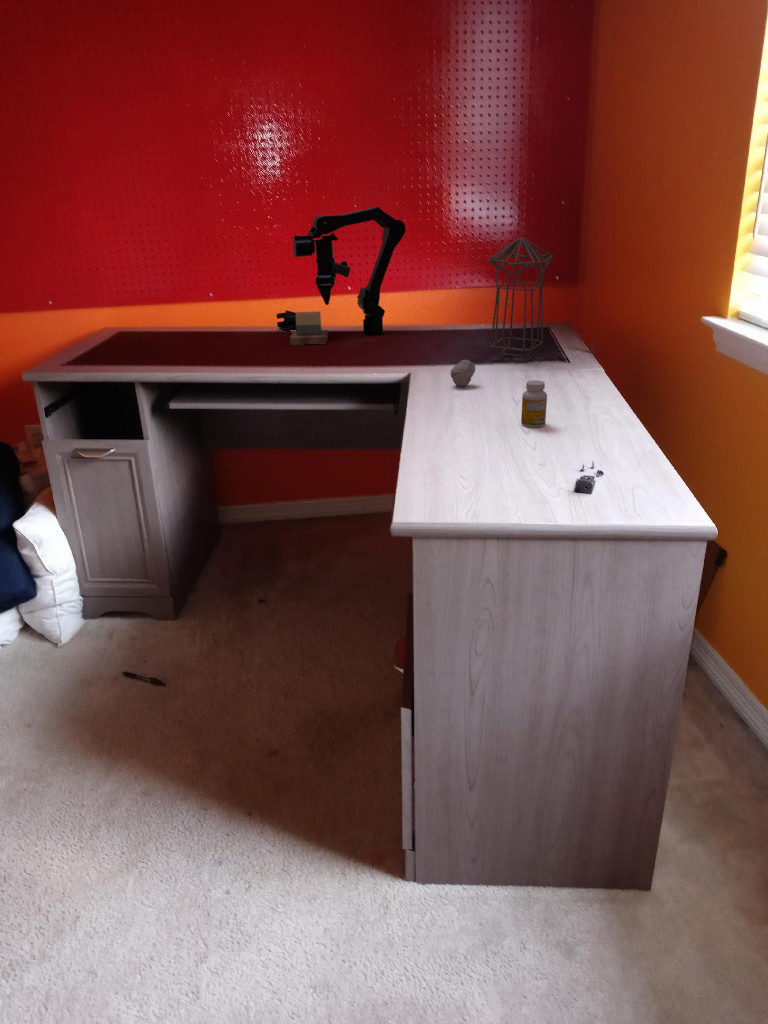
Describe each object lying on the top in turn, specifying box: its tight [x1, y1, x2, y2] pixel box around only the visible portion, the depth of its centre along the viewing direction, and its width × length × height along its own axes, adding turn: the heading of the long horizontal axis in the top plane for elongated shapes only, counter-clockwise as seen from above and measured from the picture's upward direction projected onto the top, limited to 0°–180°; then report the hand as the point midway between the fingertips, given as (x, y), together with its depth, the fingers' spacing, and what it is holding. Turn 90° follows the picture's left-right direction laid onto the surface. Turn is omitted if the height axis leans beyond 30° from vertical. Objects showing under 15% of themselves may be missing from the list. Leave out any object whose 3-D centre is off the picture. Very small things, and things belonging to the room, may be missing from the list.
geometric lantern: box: [487, 237, 554, 363], centre depth 230 cm, size 16×16×35 cm
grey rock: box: [450, 359, 476, 388], centre depth 208 cm, size 6×7×7 cm
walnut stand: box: [289, 329, 329, 346], centre depth 268 cm, size 12×12×2 cm
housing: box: [295, 311, 322, 336], centre depth 266 cm, size 5×8×7 cm, turn 90°
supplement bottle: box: [520, 379, 548, 429], centre depth 175 cm, size 5×5×10 cm
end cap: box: [276, 310, 297, 332], centre depth 285 cm, size 10×7×7 cm
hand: (327, 302), depth 270 cm, fingers open, 9 cm apart
